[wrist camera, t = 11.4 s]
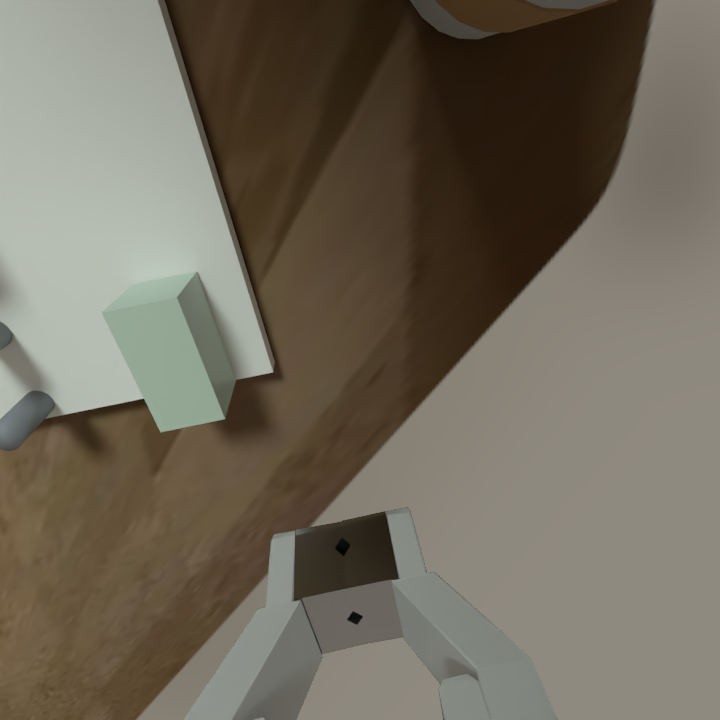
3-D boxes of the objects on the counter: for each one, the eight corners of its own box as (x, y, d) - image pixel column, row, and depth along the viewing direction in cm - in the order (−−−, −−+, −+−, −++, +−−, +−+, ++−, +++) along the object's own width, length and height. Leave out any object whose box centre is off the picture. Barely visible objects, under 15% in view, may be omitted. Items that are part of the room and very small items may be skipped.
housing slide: (132, 284, 20) (101, 312, 17) (196, 271, 20) (176, 297, 17) (180, 391, 23) (160, 432, 20) (235, 380, 23) (225, 419, 20)
